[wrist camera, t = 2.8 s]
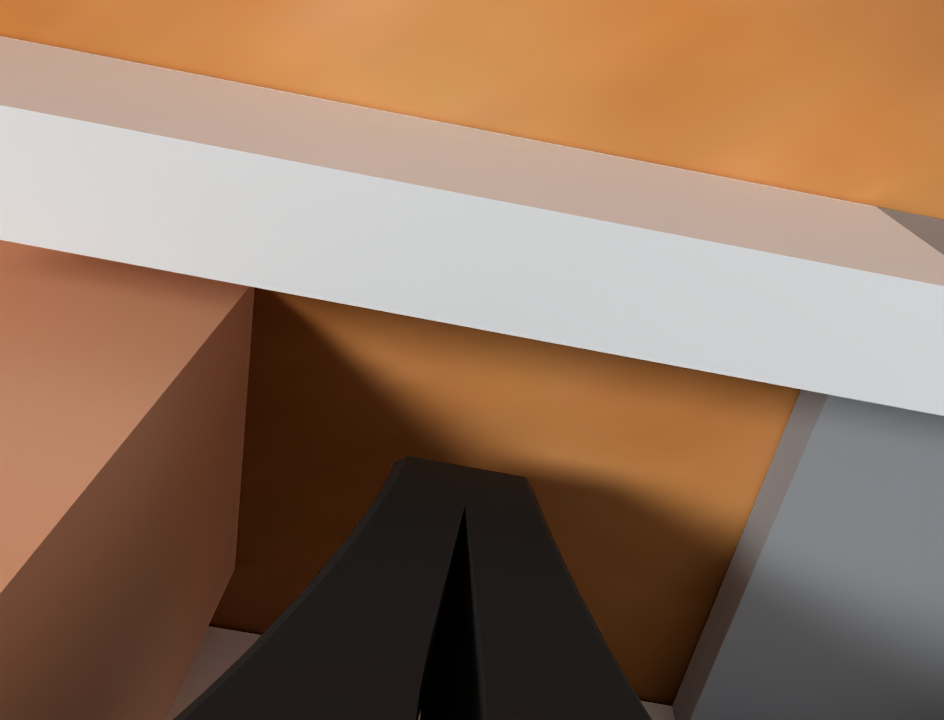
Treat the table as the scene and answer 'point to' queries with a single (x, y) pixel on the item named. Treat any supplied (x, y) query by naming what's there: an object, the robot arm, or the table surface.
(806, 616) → the grey u-shaped piece
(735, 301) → the channel
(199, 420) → the block
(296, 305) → the table surface
